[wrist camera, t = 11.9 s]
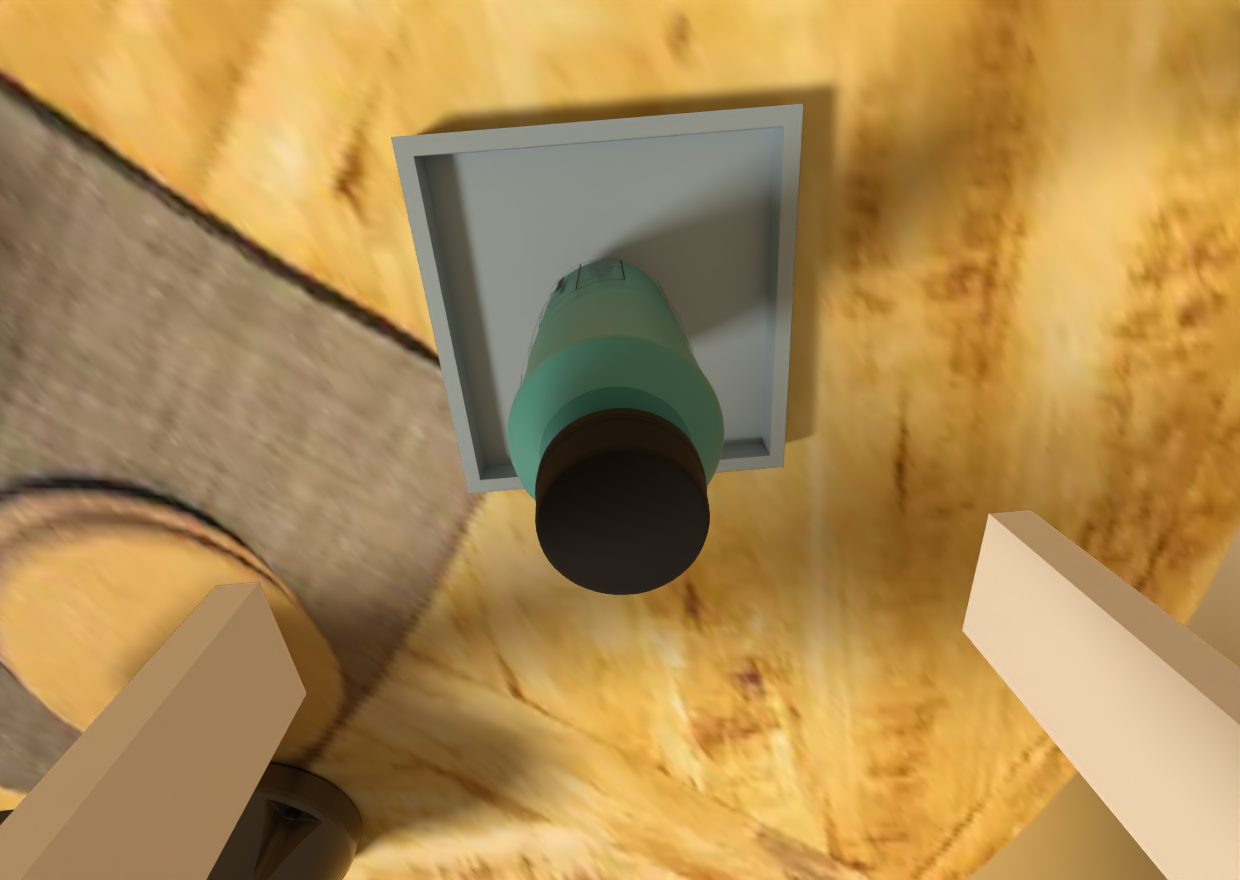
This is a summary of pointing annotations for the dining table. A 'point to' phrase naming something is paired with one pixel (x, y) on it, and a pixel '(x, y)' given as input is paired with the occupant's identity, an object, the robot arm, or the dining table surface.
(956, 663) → the dining table surface
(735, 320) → the tray
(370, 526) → the dining table surface
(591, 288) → the beverage bottle
